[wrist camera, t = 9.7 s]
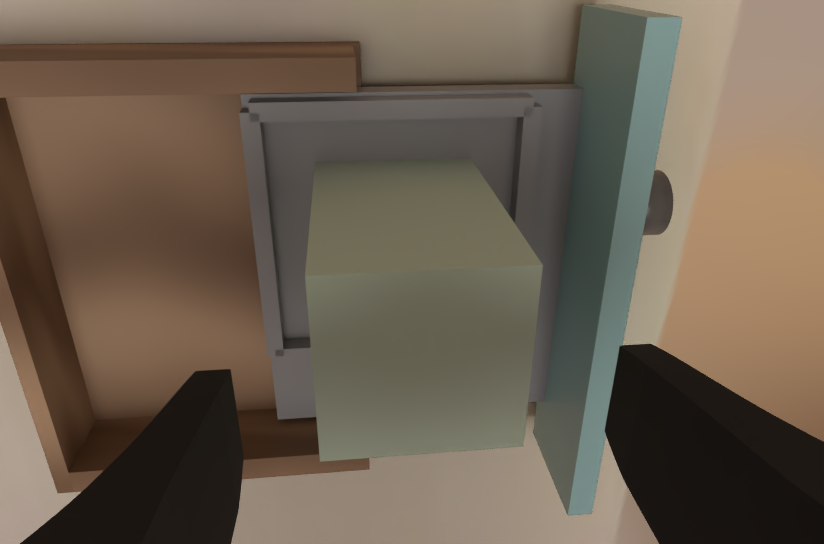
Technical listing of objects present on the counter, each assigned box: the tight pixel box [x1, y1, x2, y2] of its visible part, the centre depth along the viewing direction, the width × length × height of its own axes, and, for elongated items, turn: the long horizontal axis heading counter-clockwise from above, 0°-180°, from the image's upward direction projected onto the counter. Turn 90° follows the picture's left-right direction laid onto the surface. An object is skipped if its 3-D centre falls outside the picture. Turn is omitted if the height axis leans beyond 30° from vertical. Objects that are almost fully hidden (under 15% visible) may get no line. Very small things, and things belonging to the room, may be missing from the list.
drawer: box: [239, 5, 682, 516], centre depth 18 cm, size 15×11×4 cm
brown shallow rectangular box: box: [0, 42, 369, 493], centre depth 19 cm, size 13×10×3 cm
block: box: [305, 158, 543, 462], centre depth 16 cm, size 4×4×7 cm
